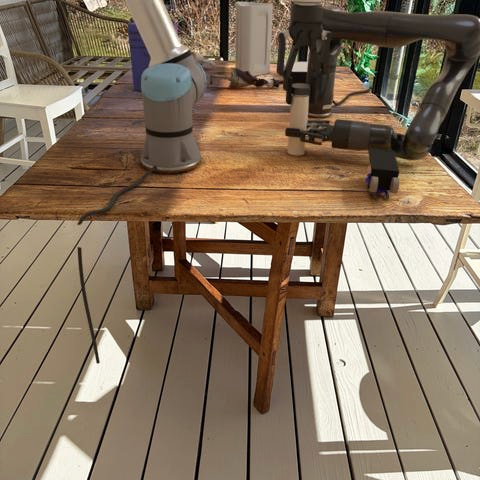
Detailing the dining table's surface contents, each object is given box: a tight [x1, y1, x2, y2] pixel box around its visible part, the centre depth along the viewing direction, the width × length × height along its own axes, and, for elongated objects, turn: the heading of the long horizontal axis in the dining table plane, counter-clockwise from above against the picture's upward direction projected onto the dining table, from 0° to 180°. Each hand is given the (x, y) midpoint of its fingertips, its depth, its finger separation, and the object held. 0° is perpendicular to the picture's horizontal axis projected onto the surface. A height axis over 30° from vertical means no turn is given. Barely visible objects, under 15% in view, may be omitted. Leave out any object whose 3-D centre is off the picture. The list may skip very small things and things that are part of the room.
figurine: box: [209, 66, 283, 89], centre depth 190 cm, size 24×8×30 cm
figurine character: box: [365, 149, 400, 200], centre depth 109 cm, size 7×8×15 cm
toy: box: [194, 51, 217, 68], centre depth 222 cm, size 24×25×7 cm
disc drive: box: [284, 61, 308, 84], centre depth 207 cm, size 18×22×5 cm
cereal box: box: [126, 21, 179, 92], centre depth 181 cm, size 17×5×24 cm, turn 86°
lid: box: [292, 83, 312, 95], centre depth 122 cm, size 5×5×2 cm
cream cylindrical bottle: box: [286, 94, 310, 157], centre depth 127 cm, size 5×5×17 cm
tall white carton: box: [234, 1, 274, 77], centre depth 210 cm, size 19×15×28 cm
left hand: (299, 102), depth 124 cm, fingers closed on lid, 5 cm apart
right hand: (287, 128), depth 128 cm, fingers closed on cream cylindrical bottle, 4 cm apart
